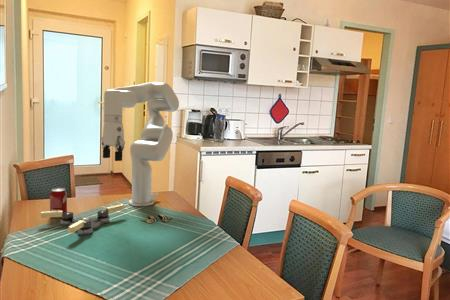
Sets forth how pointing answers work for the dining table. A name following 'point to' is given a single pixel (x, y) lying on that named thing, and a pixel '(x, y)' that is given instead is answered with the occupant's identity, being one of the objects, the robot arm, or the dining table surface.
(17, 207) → the dining table surface
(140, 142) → the robot arm
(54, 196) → the soda can
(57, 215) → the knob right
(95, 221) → the tribrach
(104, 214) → the knob
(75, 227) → the knob
